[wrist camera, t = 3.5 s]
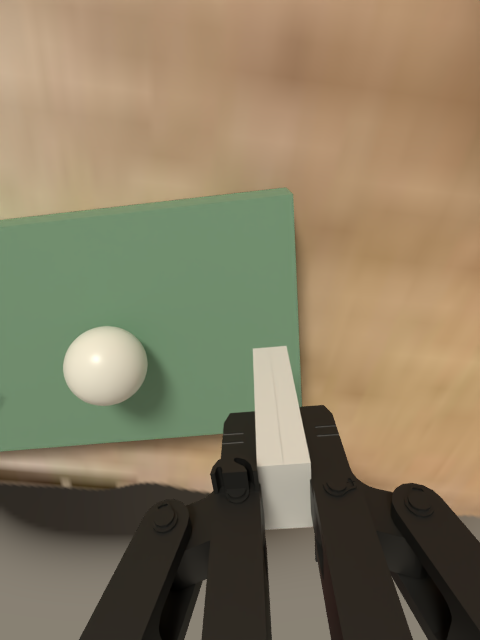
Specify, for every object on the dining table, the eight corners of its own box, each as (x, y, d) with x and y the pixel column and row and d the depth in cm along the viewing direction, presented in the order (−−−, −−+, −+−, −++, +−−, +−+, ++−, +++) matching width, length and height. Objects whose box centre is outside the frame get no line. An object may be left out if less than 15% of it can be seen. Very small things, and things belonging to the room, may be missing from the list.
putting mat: (-81, 428, 27) (-118, 460, 24) (-202, 243, 20) (-270, 257, 18) (296, 397, 25) (302, 427, 22) (285, 187, 19) (293, 194, 16)
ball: (94, 378, 21) (63, 426, 17) (73, 317, 19) (34, 356, 16) (161, 372, 21) (144, 419, 17) (146, 309, 19) (123, 347, 15)
